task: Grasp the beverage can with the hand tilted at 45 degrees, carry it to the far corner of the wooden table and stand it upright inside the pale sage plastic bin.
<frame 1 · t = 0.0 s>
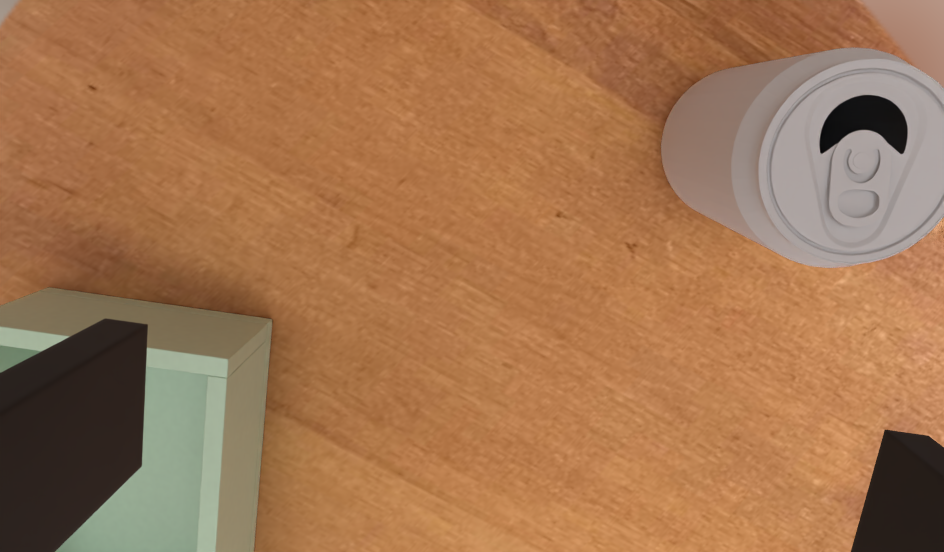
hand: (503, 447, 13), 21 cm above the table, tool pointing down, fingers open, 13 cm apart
bin: (153, 455, 36), on the table
beverage can: (729, 144, 32), on the table
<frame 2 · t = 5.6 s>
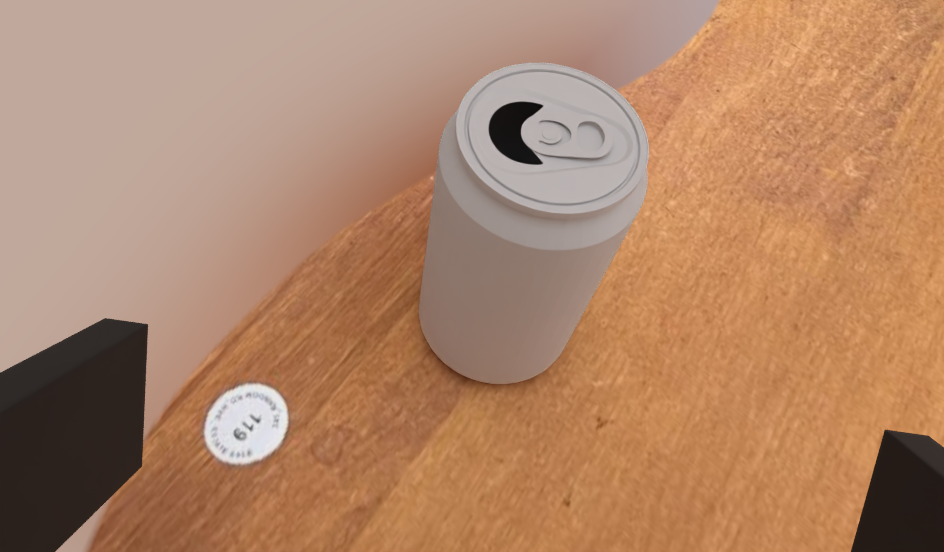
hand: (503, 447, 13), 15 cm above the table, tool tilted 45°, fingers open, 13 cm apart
beverage can: (492, 323, 32), on the table
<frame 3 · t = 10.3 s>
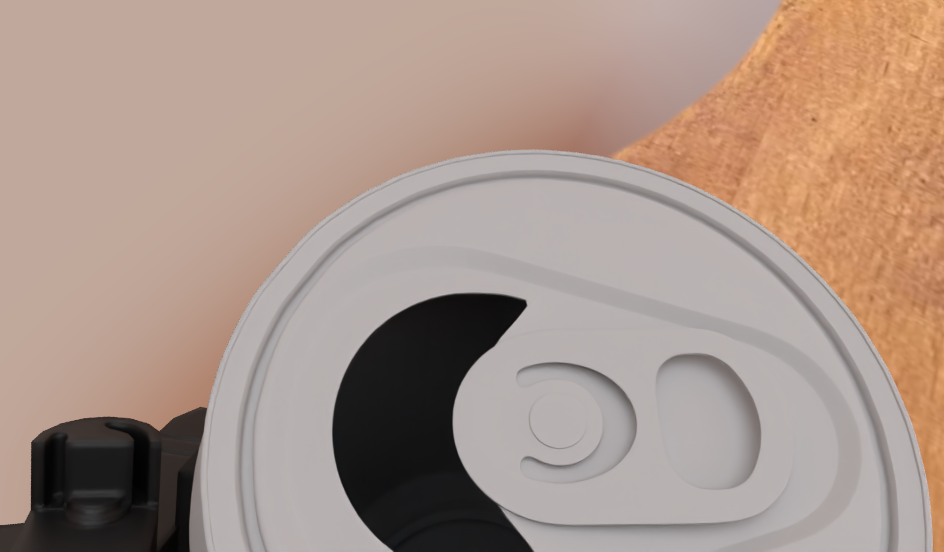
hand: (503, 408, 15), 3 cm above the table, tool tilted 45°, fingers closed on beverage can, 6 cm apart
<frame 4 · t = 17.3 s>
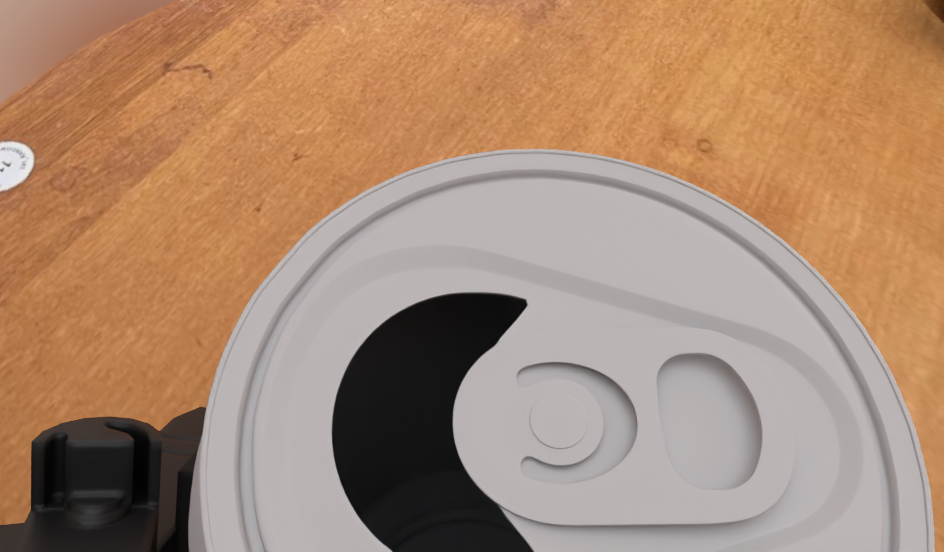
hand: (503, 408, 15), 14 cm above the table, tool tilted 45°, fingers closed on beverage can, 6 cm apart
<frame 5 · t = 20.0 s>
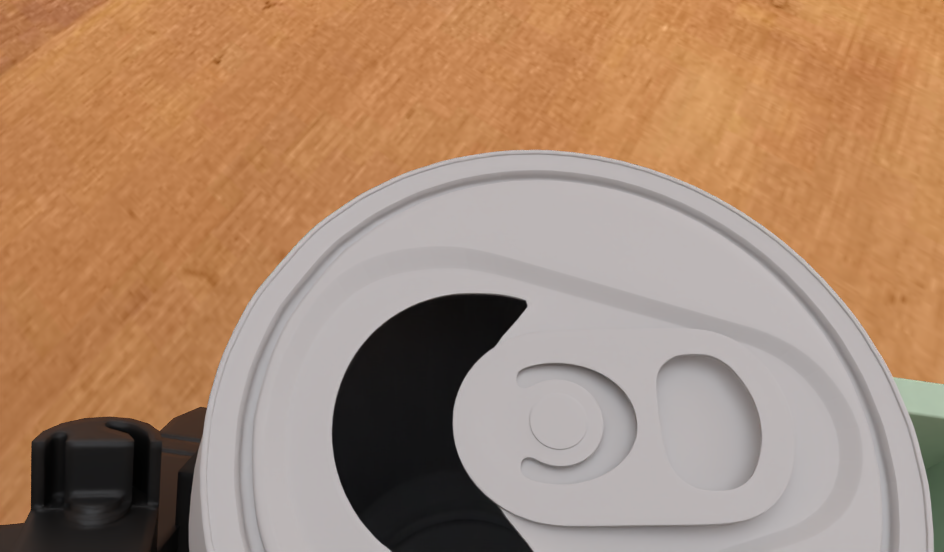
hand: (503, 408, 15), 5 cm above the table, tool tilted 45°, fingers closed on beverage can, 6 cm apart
when the fingers open (6 cm above the table, at t = 24.3 s): beverage can drops 1 cm, resting on bin.
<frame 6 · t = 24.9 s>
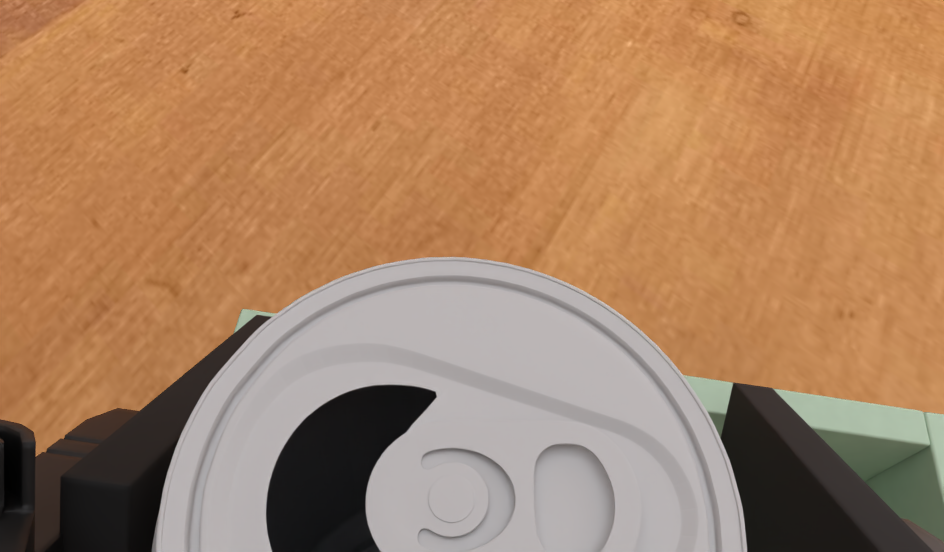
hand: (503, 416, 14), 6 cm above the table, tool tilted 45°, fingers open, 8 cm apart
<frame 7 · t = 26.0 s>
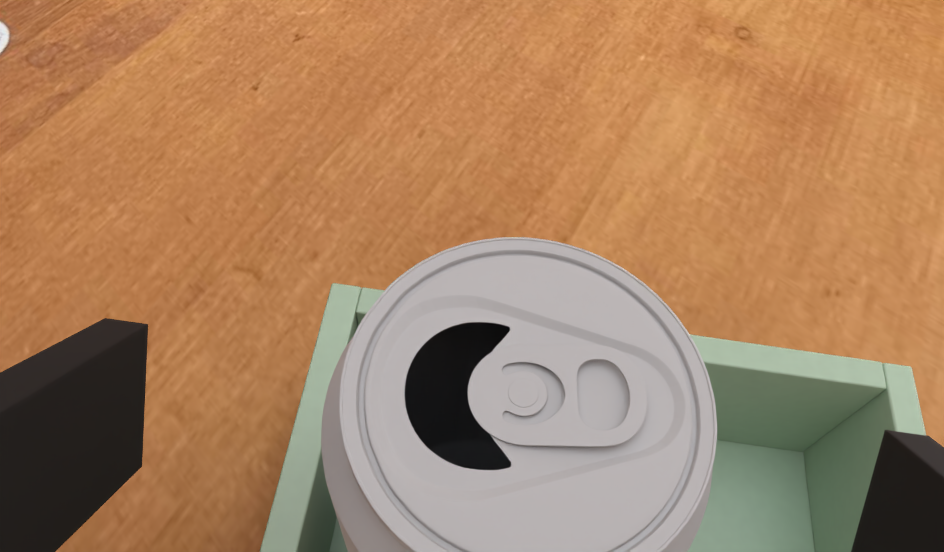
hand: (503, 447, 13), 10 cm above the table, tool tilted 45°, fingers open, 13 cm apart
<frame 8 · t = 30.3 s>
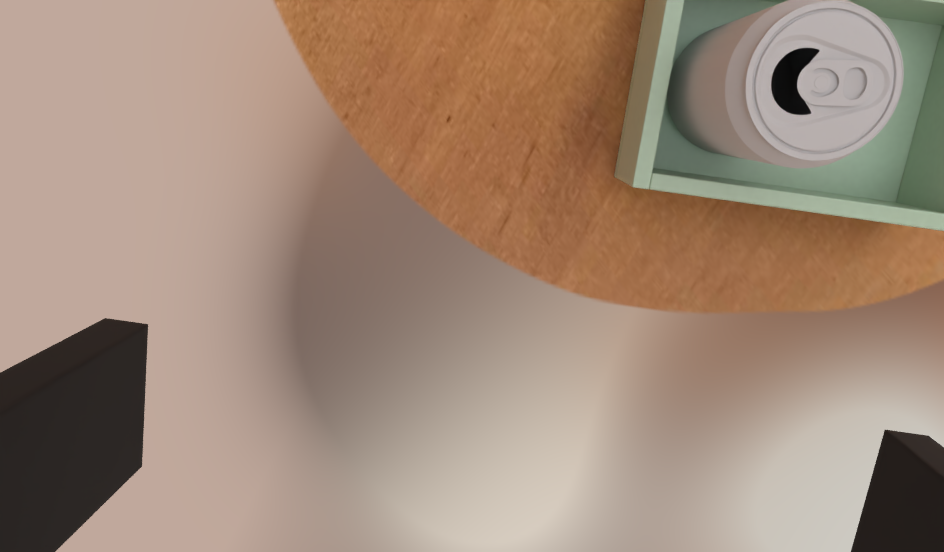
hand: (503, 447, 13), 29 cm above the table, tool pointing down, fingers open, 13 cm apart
bin: (777, 97, 39), on the table
beverage can: (724, 91, 39), point 1 cm above the table, touching bin
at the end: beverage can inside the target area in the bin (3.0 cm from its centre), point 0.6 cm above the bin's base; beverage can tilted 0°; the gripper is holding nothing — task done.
